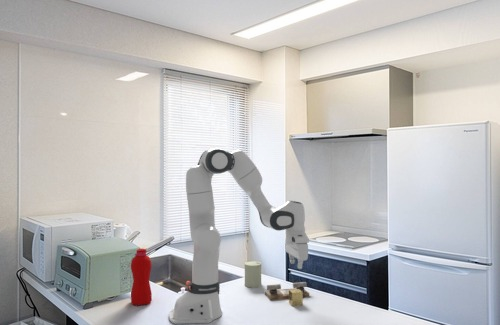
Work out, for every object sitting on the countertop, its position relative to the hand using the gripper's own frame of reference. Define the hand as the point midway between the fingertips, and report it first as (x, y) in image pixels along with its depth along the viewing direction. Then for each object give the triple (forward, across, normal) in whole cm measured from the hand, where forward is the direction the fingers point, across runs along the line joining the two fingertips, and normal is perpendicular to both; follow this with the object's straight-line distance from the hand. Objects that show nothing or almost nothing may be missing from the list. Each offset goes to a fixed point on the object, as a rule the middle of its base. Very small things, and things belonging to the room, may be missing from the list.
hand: (295, 265), depth 177 cm
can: (+18, -32, -12) cm, 39 cm away
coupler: (+18, 0, 0) cm, 18 cm away
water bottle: (+17, -20, -70) cm, 75 cm away
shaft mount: (+18, -12, 0) cm, 21 cm away
